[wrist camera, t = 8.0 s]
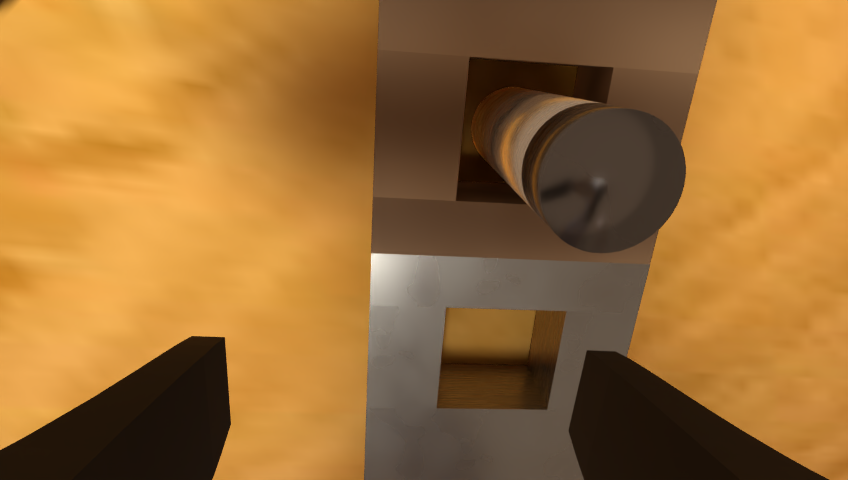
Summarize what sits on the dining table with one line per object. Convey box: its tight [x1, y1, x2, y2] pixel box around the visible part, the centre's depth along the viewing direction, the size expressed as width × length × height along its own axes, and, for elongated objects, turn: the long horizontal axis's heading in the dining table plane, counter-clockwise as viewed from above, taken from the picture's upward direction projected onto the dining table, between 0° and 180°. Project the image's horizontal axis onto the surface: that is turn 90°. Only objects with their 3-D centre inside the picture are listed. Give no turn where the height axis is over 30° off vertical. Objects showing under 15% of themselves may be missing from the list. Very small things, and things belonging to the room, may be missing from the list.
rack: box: [371, 0, 717, 264], centre depth 16 cm, size 12×10×3 cm
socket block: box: [364, 253, 650, 480], centre depth 20 cm, size 12×10×3 cm
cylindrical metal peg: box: [471, 87, 686, 253], centre depth 14 cm, size 3×3×9 cm
